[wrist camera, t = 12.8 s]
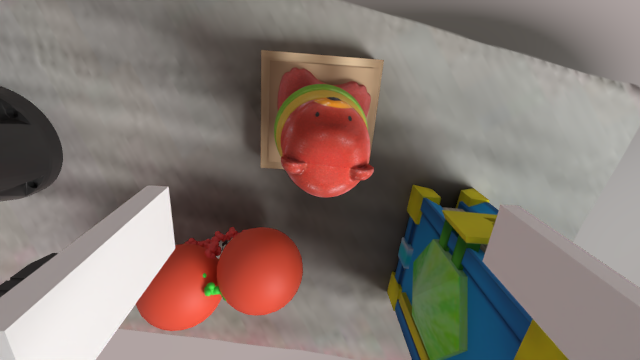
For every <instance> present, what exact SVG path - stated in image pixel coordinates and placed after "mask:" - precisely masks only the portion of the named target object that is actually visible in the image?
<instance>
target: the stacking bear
mask: <svg viewBox="0 0 640 360" xmlns="http://www.w3.org/2000/svg"><path fill="white" fill-rule="evenodd" d="M370 103H371V96H370V94H369V93H368V92H367V89H366V87H365V86H364V85H362V84H360V85H359V84H358V83H357V82H355V81H351V82H347V83H344V84H341V85H329V84H326V83H323V82H321V81H319V80H318V79H317V78H316V77H315V76H314V75H313V74H312V73H311V72H310V71H308V70H307V69H305V68H302V69H299V68H297V67H294V68H292V69H291V71H290V72H286V73H284V75H283V76H282V79H281V82H280V86H279V91H278V102H277V105H278V113H277V116H276V119H275V125H274V138H275V143H276V147H277V150H278V152H279V154H280V156H281V165H282V167H283V168H284V169H285V170H286V171H287V173H288V175H289V177H290V178H291V179H292V181H293V182H294V183H295V184H296V185H297V186H298V187H300V188H301V189H302V190H304V191H305V192H307V193H309V194H311V195H314V196H318V197H334V196H339V195H341V194H344V193H346V192H347V191H349V190H351V189H352V188H353V187H355V186H356V185H357V184H358V183H359V182H360V180H366V179H368V178H369V177H370V176H371V175H372V173H373V171H374V167H372V166H371V165H369V164H368V163H369V157H370V138H369V133H368V126H367V121H366V117H367V114H368V111H369V108H370Z"/></svg>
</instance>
